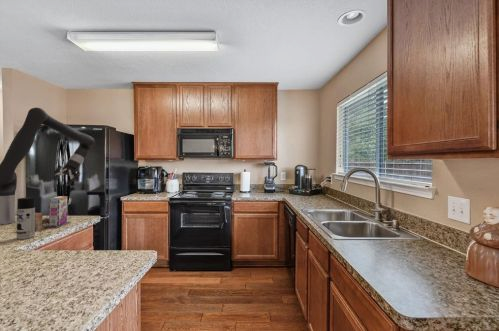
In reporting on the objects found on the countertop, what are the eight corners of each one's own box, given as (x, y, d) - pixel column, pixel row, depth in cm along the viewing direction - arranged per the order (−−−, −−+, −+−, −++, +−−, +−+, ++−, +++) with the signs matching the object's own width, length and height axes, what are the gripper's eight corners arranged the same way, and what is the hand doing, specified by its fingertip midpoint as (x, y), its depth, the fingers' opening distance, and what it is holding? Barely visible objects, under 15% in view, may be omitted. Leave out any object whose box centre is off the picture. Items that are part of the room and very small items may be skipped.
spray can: (13, 239, 121) (13, 198, 121) (28, 235, 128) (28, 196, 128) (23, 240, 120) (23, 199, 120) (38, 236, 126) (38, 197, 126)
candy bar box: (58, 226, 144) (59, 198, 144) (48, 226, 143) (49, 198, 143) (67, 221, 155) (67, 195, 155) (58, 222, 154) (58, 196, 154)
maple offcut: (27, 230, 136) (27, 222, 136) (32, 228, 141) (32, 220, 140) (37, 230, 137) (37, 222, 137) (41, 228, 142) (42, 220, 141)
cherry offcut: (27, 222, 136) (27, 214, 136) (34, 220, 141) (34, 212, 141) (35, 222, 137) (36, 214, 137) (42, 220, 141) (42, 212, 141)
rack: (17, 232, 133) (17, 224, 133) (45, 222, 155) (46, 215, 155) (35, 231, 134) (35, 224, 134) (61, 222, 157) (61, 215, 157)
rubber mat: (44, 228, 142) (44, 227, 142) (59, 222, 155) (59, 221, 155) (57, 227, 143) (57, 226, 143) (70, 222, 156) (70, 221, 156)
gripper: (62, 156, 165) (47, 177, 157) (83, 162, 166) (69, 184, 158) (67, 160, 171) (53, 181, 164) (87, 167, 172) (74, 188, 165)
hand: (61, 182), depth 161 cm, fingers open, 8 cm apart
